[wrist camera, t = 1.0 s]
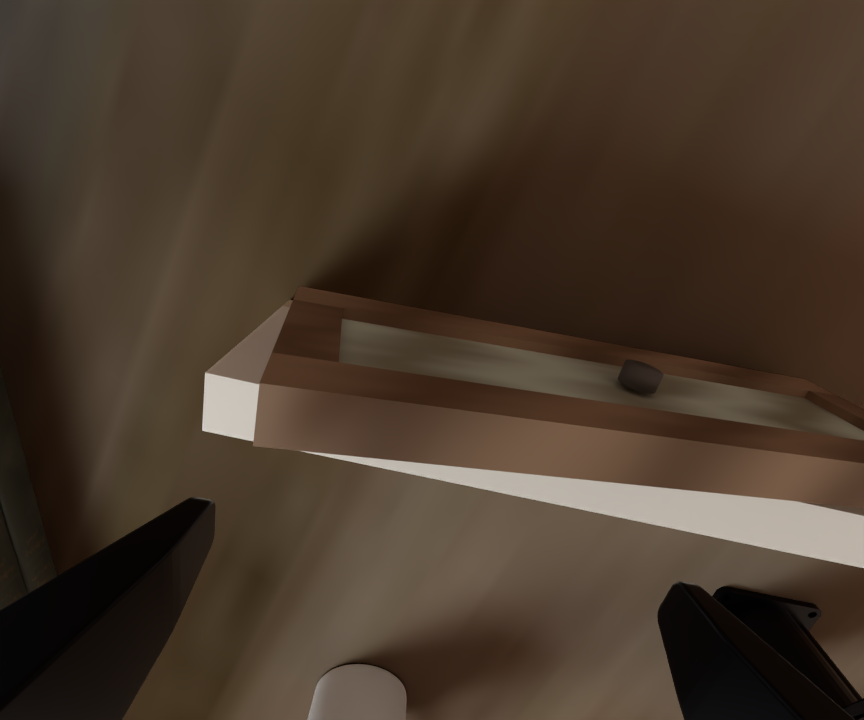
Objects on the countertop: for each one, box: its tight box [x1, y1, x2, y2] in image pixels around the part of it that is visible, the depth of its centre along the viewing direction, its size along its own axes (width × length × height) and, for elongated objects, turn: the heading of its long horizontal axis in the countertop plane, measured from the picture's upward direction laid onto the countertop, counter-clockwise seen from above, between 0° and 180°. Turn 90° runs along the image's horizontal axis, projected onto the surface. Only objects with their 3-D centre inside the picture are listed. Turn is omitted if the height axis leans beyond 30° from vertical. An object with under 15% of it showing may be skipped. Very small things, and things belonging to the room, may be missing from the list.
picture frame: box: [253, 286, 864, 508], centre depth 15 cm, size 22×2×7 cm, turn 76°
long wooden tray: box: [202, 300, 864, 568], centre depth 19 cm, size 26×6×8 cm, turn 77°
